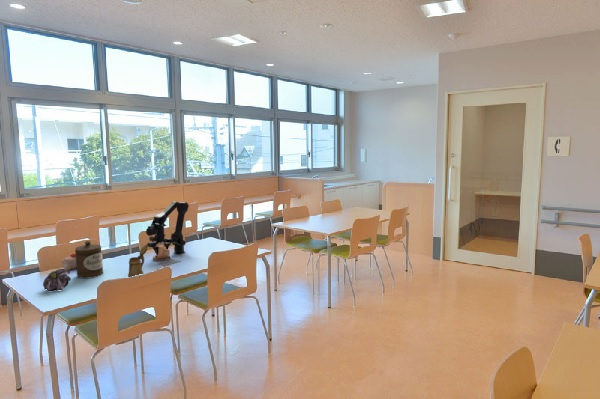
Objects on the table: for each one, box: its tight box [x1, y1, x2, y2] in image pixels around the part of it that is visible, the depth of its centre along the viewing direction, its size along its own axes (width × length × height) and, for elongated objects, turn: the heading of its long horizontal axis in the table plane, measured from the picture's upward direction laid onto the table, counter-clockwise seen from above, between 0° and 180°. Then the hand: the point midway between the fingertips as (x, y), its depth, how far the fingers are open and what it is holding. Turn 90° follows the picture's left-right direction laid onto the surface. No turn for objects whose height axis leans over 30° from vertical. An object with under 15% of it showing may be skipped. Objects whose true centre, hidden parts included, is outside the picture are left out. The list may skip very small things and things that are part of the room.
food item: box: [61, 253, 77, 271], centre depth 271 cm, size 14×8×10 cm, turn 139°
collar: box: [152, 254, 171, 262], centre depth 292 cm, size 12×12×2 cm
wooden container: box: [75, 240, 104, 279], centre depth 256 cm, size 15×15×22 cm
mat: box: [157, 259, 182, 267], centre depth 282 cm, size 13×9×1 cm
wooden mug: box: [127, 244, 148, 278], centre depth 256 cm, size 9×14×18 cm, turn 142°
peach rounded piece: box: [155, 245, 171, 258], centre depth 290 cm, size 12×7×9 cm, turn 54°
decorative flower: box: [42, 268, 72, 292], centre depth 232 cm, size 14×12×15 cm
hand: (161, 254), depth 291 cm, fingers closed on peach rounded piece, 7 cm apart
